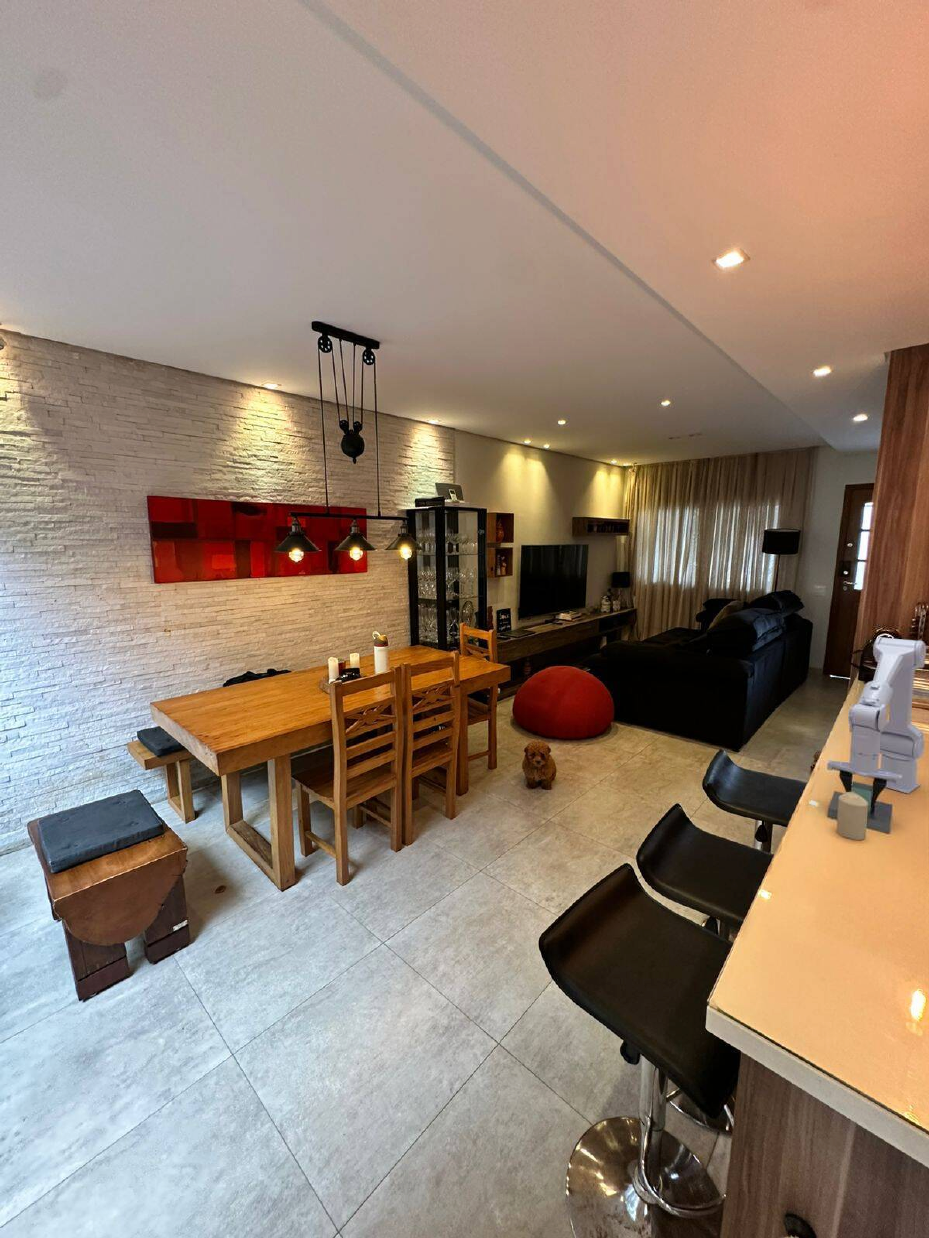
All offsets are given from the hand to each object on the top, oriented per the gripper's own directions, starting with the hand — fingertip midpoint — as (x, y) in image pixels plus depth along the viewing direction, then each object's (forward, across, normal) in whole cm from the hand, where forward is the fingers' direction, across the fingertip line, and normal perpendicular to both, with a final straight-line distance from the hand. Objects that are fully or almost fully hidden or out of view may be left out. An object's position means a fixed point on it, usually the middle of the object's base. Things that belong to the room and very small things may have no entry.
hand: (860, 802), depth 127 cm
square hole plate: (+3, 0, 0) cm, 3 cm away
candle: (+4, -1, -12) cm, 12 cm away
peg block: (+2, 0, 0) cm, 2 cm away
